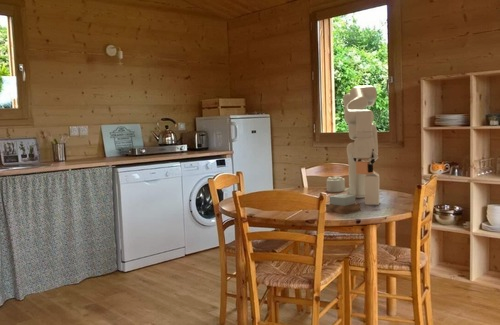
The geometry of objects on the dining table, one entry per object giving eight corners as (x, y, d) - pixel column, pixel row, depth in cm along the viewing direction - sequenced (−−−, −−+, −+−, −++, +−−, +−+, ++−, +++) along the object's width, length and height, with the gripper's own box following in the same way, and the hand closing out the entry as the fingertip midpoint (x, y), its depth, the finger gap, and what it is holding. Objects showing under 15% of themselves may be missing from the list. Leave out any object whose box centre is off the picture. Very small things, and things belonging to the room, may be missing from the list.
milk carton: (379, 202, 258) (379, 167, 256) (378, 205, 251) (378, 169, 249) (366, 202, 260) (365, 167, 258) (364, 204, 254) (364, 169, 252)
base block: (326, 212, 242) (326, 204, 241) (341, 208, 249) (341, 200, 249) (345, 215, 232) (344, 207, 232) (360, 211, 240) (360, 203, 239)
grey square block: (329, 204, 240) (329, 196, 240) (340, 201, 246) (340, 193, 246) (344, 206, 234) (344, 198, 233) (355, 203, 240) (355, 195, 239)
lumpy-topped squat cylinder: (346, 189, 306) (346, 176, 305) (339, 192, 295) (339, 178, 294) (331, 188, 312) (331, 175, 311) (323, 191, 301) (323, 178, 300)
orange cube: (356, 173, 238) (356, 161, 237) (363, 172, 242) (363, 160, 241) (366, 174, 234) (366, 162, 233) (373, 173, 237) (373, 161, 237)
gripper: (345, 135, 240) (346, 171, 242) (374, 136, 227) (375, 173, 229) (354, 134, 245) (355, 169, 247) (383, 135, 232) (384, 172, 234)
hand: (364, 171), depth 238 cm, fingers closed on orange cube, 6 cm apart
